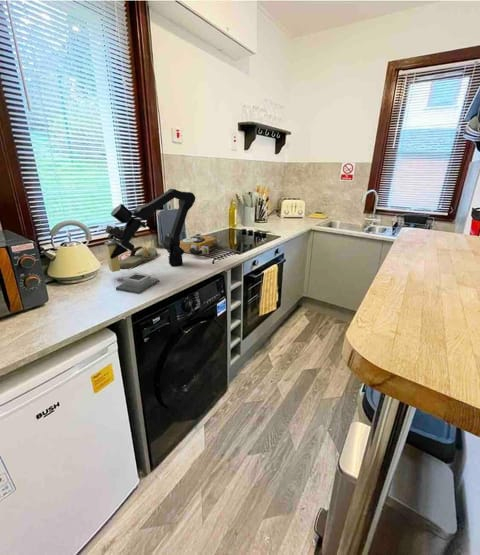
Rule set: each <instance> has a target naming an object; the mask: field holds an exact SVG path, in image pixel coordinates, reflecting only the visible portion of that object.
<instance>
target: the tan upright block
mask: <svg viewBox="0 0 480 555" xmlns="http://www.w3.org/2000/svg"><path fill="white" fill-rule="evenodd" d="M104 246H105V253H106V257H107V262H108V263H107V264H108V268H109V270H110V271H111V272H112V273H115V272H119V271H121V267H120V264H119V261H120V259H119V256H117V257H115V258H113V259H112V258H110V257H111V255H112V253H113V251H114V249H115V248H116V244H115V242H113V241H110V240H108V241H105V242H104Z"/></svg>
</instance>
